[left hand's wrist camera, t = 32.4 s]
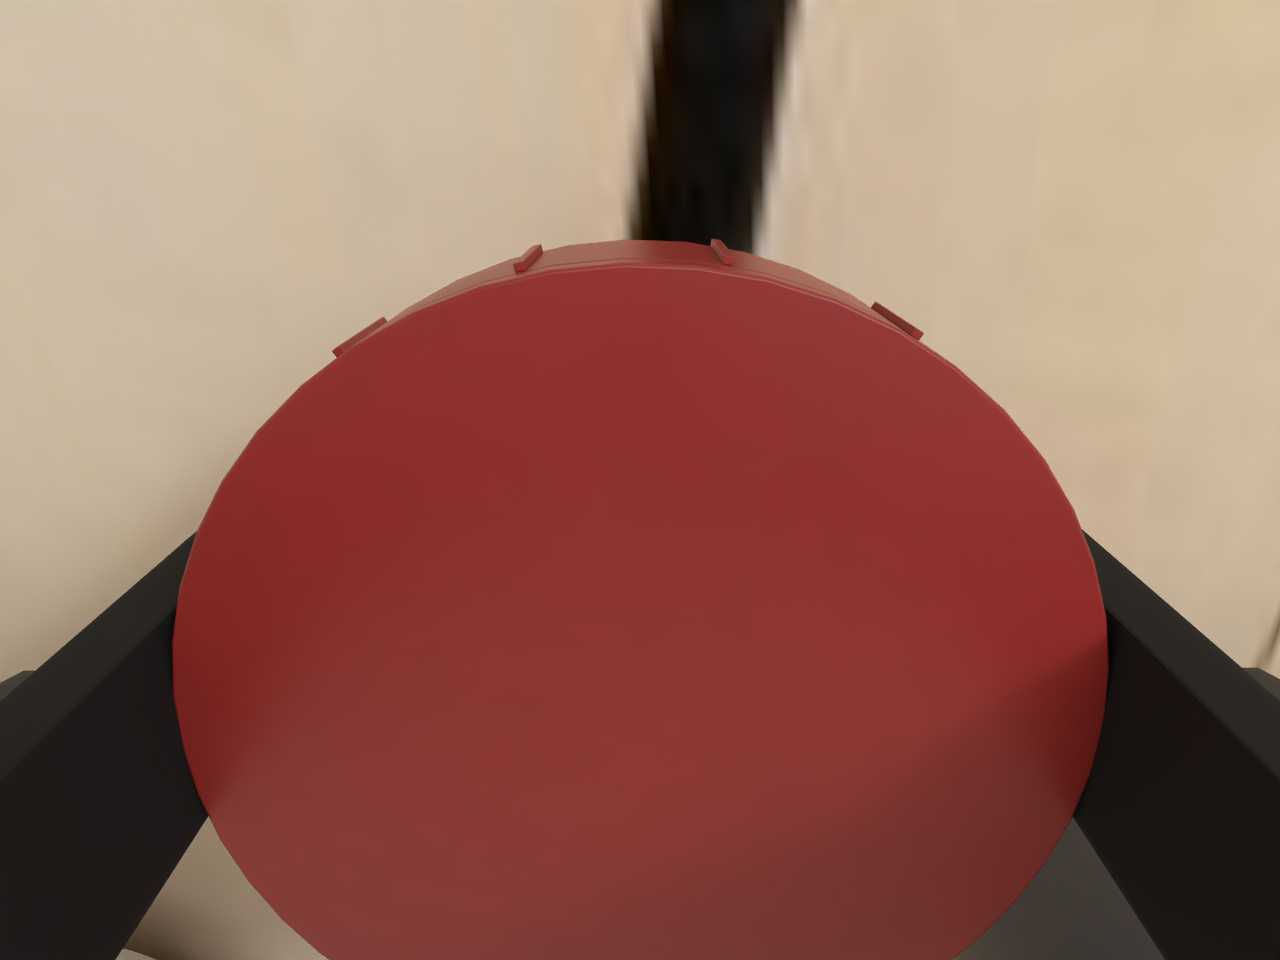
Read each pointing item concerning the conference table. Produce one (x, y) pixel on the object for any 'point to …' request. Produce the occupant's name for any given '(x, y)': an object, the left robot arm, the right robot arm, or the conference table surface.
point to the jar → (1067, 914)
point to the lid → (640, 628)
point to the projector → (132, 955)
